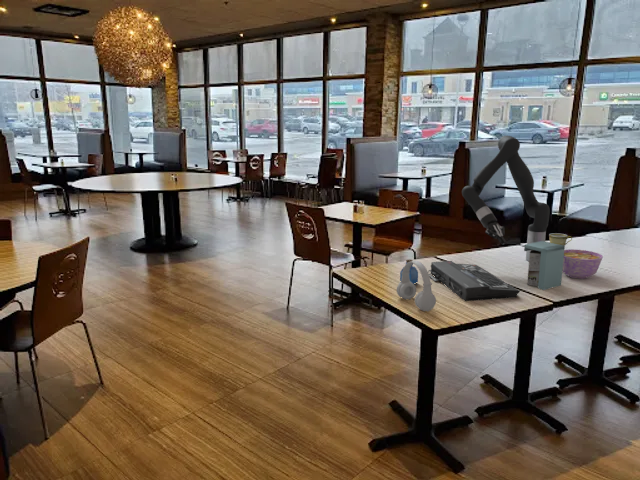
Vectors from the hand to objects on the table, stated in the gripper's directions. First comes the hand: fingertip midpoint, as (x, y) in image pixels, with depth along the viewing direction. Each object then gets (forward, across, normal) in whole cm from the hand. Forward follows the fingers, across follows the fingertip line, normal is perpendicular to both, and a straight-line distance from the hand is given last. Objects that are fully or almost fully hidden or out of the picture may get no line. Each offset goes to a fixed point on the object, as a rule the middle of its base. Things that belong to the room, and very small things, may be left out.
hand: (504, 243), depth 250 cm
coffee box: (+26, -1, -3) cm, 26 cm away
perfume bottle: (+1, -53, +19) cm, 56 cm away
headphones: (+18, -69, +2) cm, 71 cm away
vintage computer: (+15, -30, +8) cm, 34 cm away
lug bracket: (+28, -1, -5) cm, 28 cm away
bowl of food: (+30, +25, -6) cm, 39 cm away
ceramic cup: (+5, +63, +20) cm, 67 cm away
